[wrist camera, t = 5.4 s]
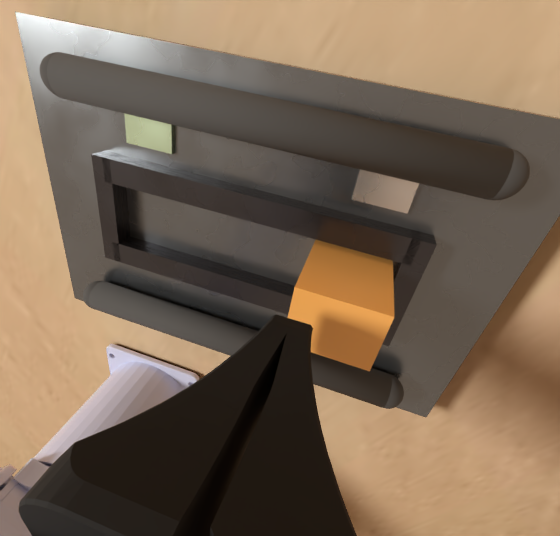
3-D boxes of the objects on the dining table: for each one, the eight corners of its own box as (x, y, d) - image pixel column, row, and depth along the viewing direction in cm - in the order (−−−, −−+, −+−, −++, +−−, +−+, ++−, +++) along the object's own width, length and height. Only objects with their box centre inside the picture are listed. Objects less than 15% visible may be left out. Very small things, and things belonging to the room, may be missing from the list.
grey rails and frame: (396, 393, 19) (397, 420, 18) (99, 294, 22) (78, 310, 21) (530, 149, 12) (550, 160, 10) (60, 50, 15) (23, 47, 13)
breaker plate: (423, 396, 21) (427, 432, 19) (91, 286, 24) (63, 306, 22) (592, 124, 12) (634, 134, 10) (44, 17, 16) (-8, 7, 14)
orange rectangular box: (373, 305, 17) (369, 371, 13) (304, 284, 17) (281, 342, 13) (392, 257, 15) (394, 316, 11) (316, 236, 16) (294, 287, 12)
